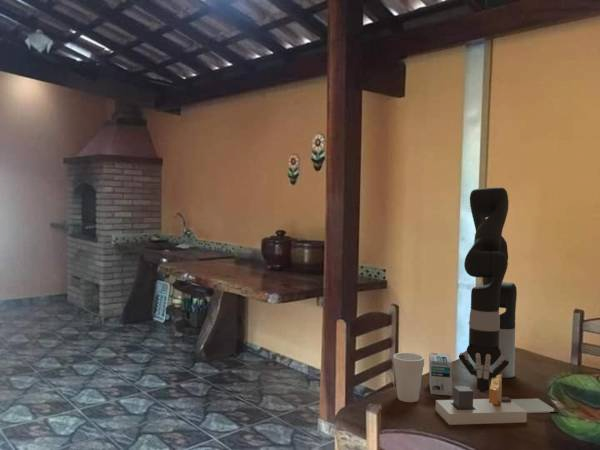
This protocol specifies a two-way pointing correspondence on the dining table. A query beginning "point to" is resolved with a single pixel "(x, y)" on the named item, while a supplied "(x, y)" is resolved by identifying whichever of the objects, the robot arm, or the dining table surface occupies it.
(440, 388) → the light bulb box
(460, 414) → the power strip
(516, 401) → the mat
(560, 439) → the dining table surface
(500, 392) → the orange lever handle
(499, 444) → the dining table surface
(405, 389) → the foam cup
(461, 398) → the plug
